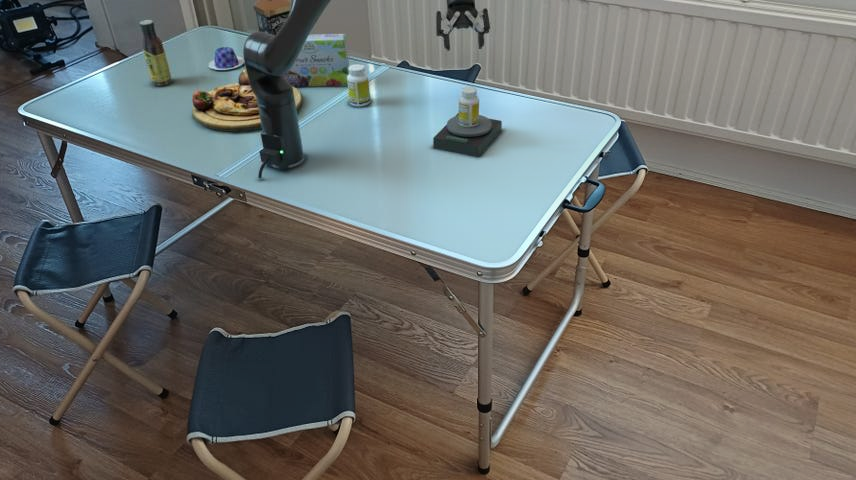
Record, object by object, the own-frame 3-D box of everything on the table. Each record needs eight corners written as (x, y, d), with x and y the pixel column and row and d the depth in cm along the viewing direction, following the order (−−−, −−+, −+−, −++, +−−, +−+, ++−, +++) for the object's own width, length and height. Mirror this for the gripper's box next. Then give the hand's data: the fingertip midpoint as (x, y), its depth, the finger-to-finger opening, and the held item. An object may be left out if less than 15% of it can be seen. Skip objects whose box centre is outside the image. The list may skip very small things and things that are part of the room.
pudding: (219, 75, 237) (216, 59, 233) (202, 65, 244) (198, 49, 241) (251, 64, 243) (248, 49, 239) (234, 55, 250) (231, 40, 247)
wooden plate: (181, 136, 203) (174, 108, 198) (206, 89, 228) (200, 63, 223) (296, 130, 203) (291, 103, 198) (307, 84, 228) (304, 58, 223)
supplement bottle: (460, 128, 191) (459, 94, 186) (457, 119, 196) (457, 86, 190) (480, 127, 192) (480, 93, 186) (477, 118, 196) (477, 84, 190)
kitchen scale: (478, 157, 188) (478, 142, 185) (433, 147, 192) (432, 133, 190) (501, 130, 199) (501, 116, 196) (458, 122, 204) (458, 108, 201)
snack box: (281, 88, 226) (273, 40, 217) (284, 81, 231) (276, 34, 222) (349, 86, 226) (344, 38, 217) (351, 79, 230) (346, 32, 221)
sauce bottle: (151, 81, 234) (133, 19, 222) (170, 77, 236) (154, 16, 224) (154, 88, 229) (136, 26, 217) (174, 84, 231) (157, 22, 219)
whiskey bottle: (276, 71, 237) (258, -31, 217) (261, 63, 243) (243, -37, 224) (303, 63, 242) (288, -38, 222) (288, 55, 248) (272, -44, 229)
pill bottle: (372, 98, 218) (368, 63, 211) (368, 107, 213) (365, 71, 207) (351, 98, 219) (348, 62, 212) (347, 107, 214) (343, 71, 207)
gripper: (433, -15, 191) (438, 44, 189) (487, -18, 191) (492, 40, 189) (433, -1, 198) (437, 56, 196) (484, -4, 199) (489, 53, 197)
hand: (464, 48), depth 193 cm, fingers open, 8 cm apart
